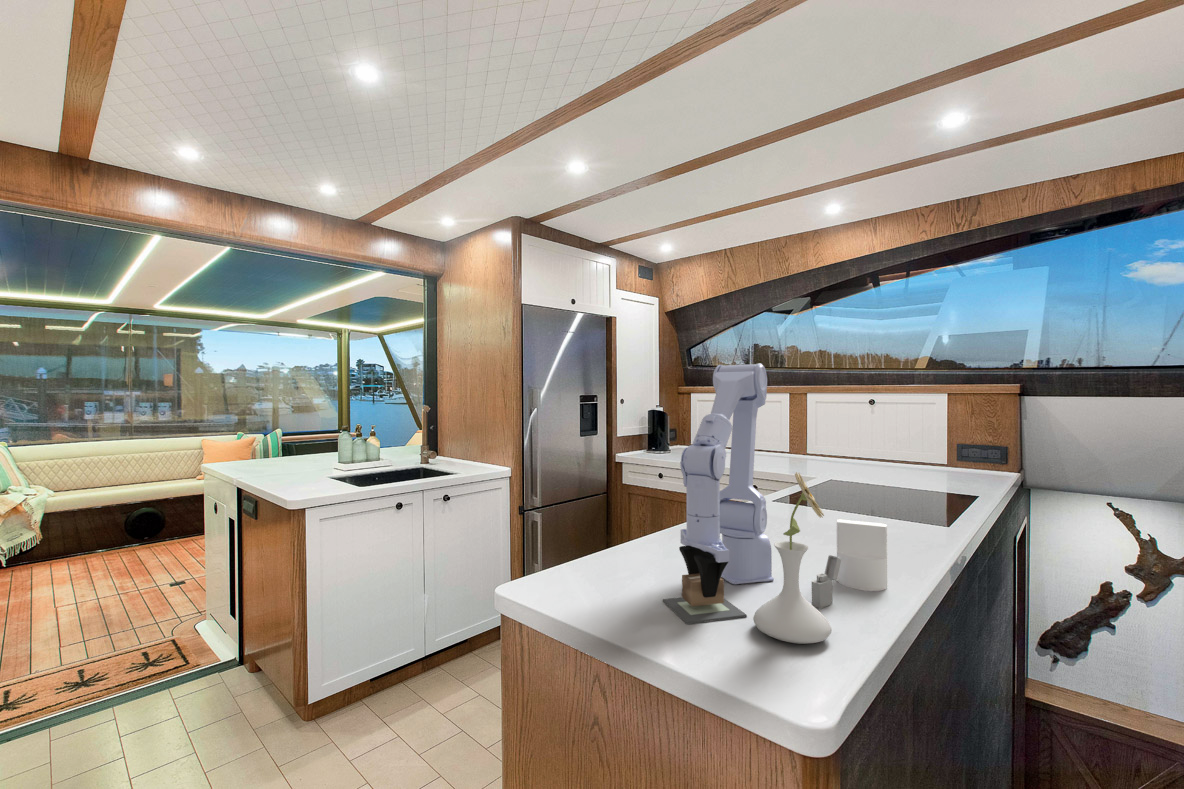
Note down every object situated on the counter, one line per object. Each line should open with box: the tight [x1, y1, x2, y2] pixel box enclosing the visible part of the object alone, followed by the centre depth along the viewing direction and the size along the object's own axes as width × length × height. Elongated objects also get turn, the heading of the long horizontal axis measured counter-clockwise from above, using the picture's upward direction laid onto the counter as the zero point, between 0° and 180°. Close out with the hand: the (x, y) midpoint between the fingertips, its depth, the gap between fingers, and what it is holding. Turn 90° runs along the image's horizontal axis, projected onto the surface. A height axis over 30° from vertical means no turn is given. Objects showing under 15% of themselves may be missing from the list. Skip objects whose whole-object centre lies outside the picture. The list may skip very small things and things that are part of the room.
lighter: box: [811, 554, 841, 610], centre depth 93 cm, size 7×2×8 cm, turn 126°
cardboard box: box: [681, 573, 725, 606], centre depth 90 cm, size 4×6×4 cm, turn 104°
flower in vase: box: [752, 471, 832, 645], centre depth 81 cm, size 13×11×25 cm
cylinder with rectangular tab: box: [836, 518, 888, 592], centre depth 104 cm, size 9×9×12 cm
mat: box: [662, 596, 748, 625], centre depth 90 cm, size 11×10×1 cm
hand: (703, 591), depth 90 cm, fingers closed on cardboard box, 4 cm apart
